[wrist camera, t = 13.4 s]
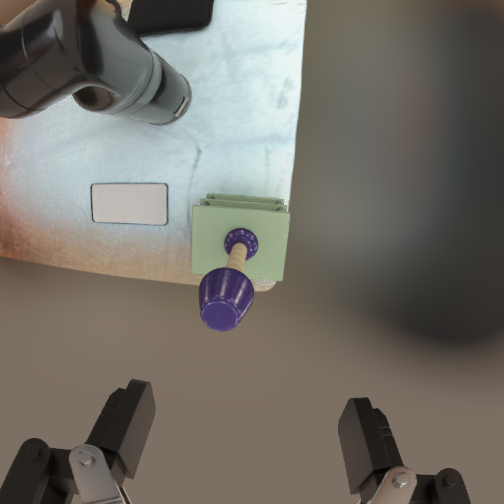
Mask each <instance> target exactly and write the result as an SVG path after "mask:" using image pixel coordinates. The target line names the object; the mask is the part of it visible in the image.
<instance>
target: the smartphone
mask: <svg viewBox="0 0 504 504" xmlns="http://www.w3.org/2000/svg"><path fill="white" fill-rule="evenodd" d="M90 189H91V211H92V220H93V222H98V223H123V224H145V225H166V224H167V223H168V186H167V184H165V183H111V184H92V185H91V187H90Z"/></svg>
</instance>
